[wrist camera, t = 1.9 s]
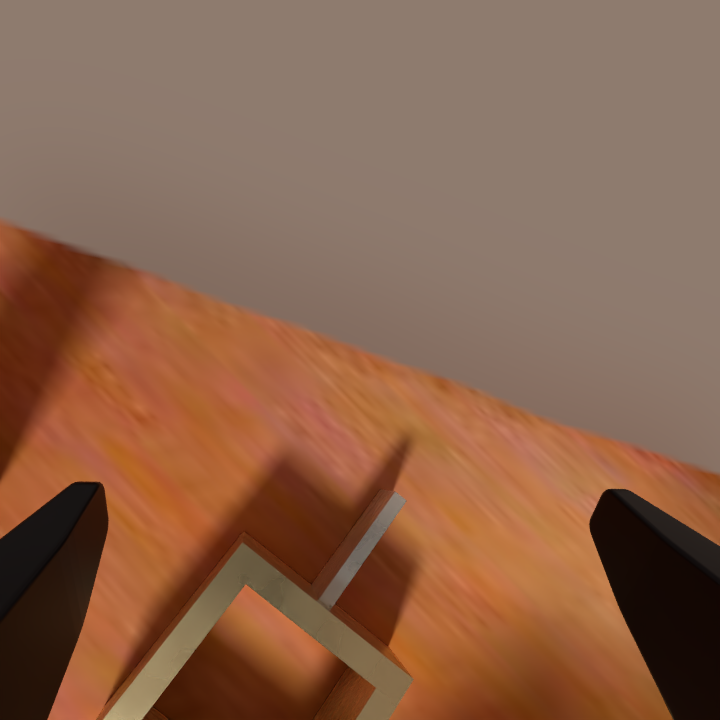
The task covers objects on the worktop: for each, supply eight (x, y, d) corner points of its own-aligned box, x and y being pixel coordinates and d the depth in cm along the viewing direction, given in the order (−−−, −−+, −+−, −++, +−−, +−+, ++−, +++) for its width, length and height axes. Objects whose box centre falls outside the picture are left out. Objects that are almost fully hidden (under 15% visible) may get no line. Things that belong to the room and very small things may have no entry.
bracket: (155, 1006, 18) (133, 1131, 15) (-26, 870, 18) (-90, 964, 14) (452, 548, 23) (486, 561, 20) (317, 437, 23) (328, 432, 20)
